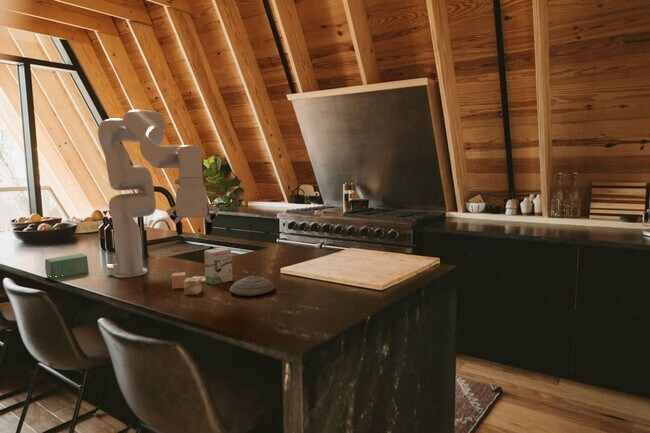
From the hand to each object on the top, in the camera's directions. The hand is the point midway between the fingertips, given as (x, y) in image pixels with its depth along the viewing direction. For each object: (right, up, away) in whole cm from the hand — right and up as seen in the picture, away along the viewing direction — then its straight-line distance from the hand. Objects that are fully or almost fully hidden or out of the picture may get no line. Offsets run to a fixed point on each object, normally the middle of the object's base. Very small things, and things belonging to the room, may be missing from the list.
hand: (194, 234), depth 156 cm
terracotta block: (-8, -19, +8) cm, 22 cm away
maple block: (-1, -20, +1) cm, 20 cm away
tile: (-3, -18, +16) cm, 24 cm away
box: (-58, -18, +29) cm, 68 cm away
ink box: (+5, -18, +14) cm, 23 cm away
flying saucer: (+19, -20, 0) cm, 28 cm away
